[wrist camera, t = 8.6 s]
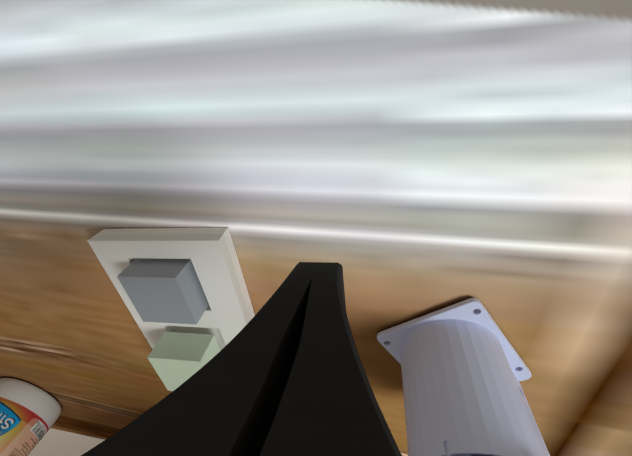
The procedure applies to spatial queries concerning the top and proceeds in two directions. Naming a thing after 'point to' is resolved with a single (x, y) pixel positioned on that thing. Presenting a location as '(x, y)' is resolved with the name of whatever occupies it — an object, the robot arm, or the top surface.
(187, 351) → the key sage
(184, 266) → the key slate
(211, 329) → the keypad
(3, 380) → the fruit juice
